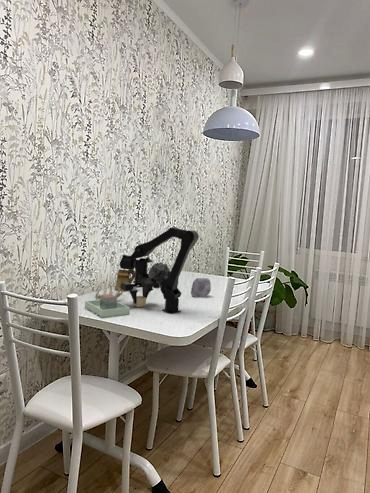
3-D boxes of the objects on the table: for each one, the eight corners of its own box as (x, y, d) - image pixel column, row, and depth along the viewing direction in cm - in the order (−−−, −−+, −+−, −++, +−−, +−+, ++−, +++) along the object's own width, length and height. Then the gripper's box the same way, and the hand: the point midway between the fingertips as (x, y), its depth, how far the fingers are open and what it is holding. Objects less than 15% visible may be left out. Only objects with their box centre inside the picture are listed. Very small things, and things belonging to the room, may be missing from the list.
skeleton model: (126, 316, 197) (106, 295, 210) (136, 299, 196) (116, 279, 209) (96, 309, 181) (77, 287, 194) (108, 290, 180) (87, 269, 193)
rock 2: (205, 295, 218) (206, 277, 217) (210, 297, 213) (211, 279, 212) (189, 296, 213) (190, 277, 212) (194, 298, 209) (195, 279, 208)
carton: (145, 306, 183) (146, 297, 183) (137, 306, 181) (138, 298, 180) (141, 303, 187) (141, 295, 187) (132, 304, 184) (133, 296, 184)
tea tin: (116, 310, 171) (117, 296, 170) (105, 311, 168) (105, 297, 167) (110, 307, 175) (111, 294, 175) (99, 309, 172) (100, 295, 171)
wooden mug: (136, 292, 214) (138, 260, 212) (112, 290, 215) (114, 258, 213) (139, 289, 223) (141, 258, 221) (117, 287, 224) (118, 257, 222)
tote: (129, 314, 168) (129, 307, 168) (101, 318, 160) (102, 310, 160) (110, 305, 182) (111, 298, 182) (84, 307, 174) (85, 301, 174)
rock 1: (170, 288, 231) (172, 264, 229) (147, 287, 229) (149, 263, 227) (168, 283, 247) (169, 260, 246) (146, 282, 245) (148, 259, 244)
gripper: (132, 274, 170) (130, 309, 172) (166, 272, 182) (165, 305, 183) (120, 270, 179) (118, 303, 180) (154, 269, 190) (152, 300, 192)
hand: (139, 303), depth 184 cm, fingers closed on carton, 4 cm apart
